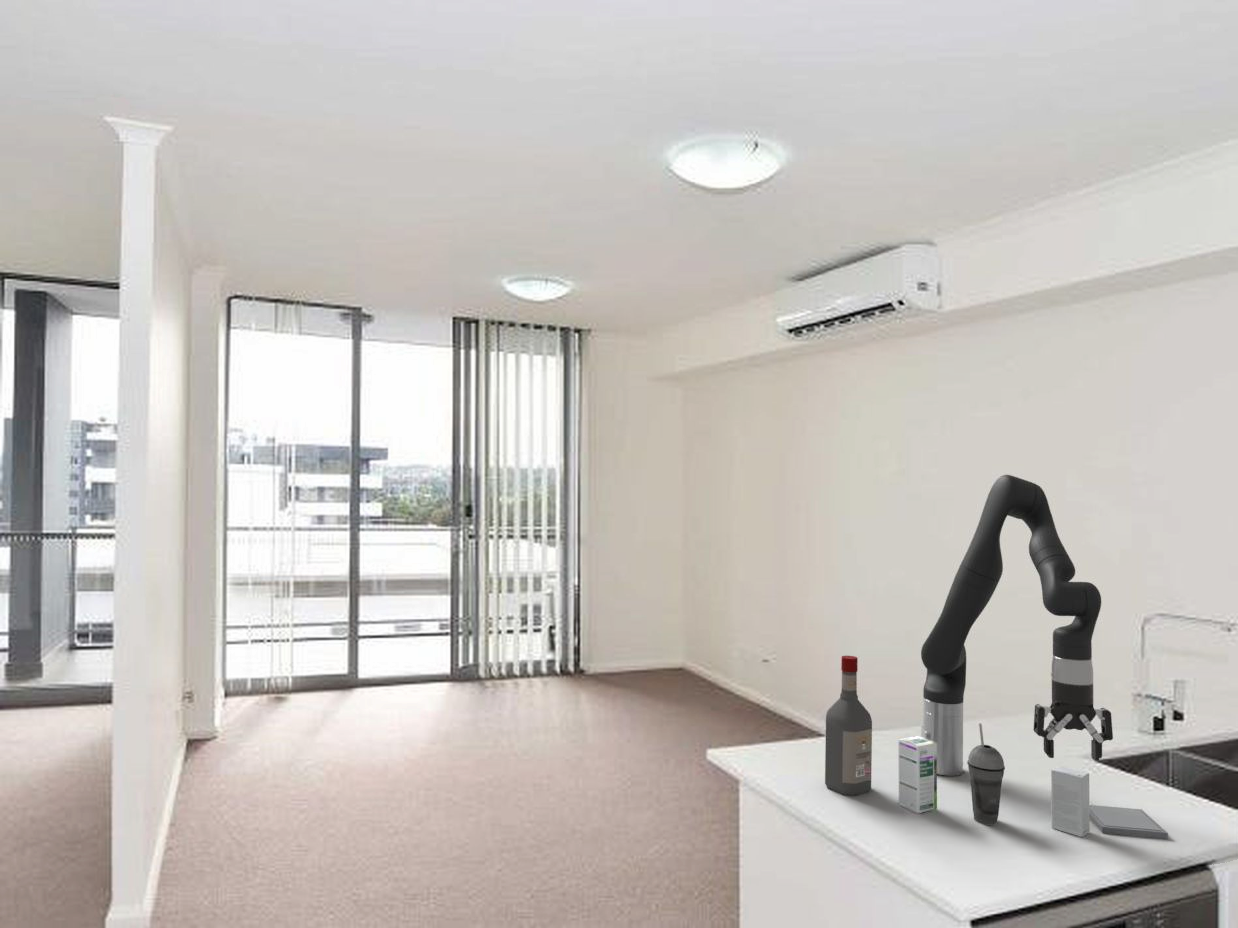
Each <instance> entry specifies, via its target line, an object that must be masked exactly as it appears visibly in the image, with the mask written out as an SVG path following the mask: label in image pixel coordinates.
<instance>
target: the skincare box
mask: <svg viewBox="0 0 1238 928" xmlns="http://www.w3.org/2000/svg"><path fill="white" fill-rule="evenodd" d="M1050 777H1051V796H1050V797H1051V803H1050V804H1051V805H1050V806H1051V809H1050V810H1051V812H1050V813H1051V816H1050V817H1051V824H1050V825H1051V828H1052V829H1054V830H1058V831H1060V832H1064V833H1067V834H1070V835H1074V836H1078V837H1080V838H1083V837H1084V836H1086V835H1087V834H1088V833H1090V828H1091V827H1090V821H1091V820H1090V816H1089V805H1090V773H1089V772H1085V771H1082V770H1081V771H1080V770H1077V769H1074V768H1069V767H1065V766H1061V765H1058V766H1056V767H1054V768H1053V769H1051V772H1050Z"/></svg>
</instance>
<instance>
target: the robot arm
mask: <svg viewBox="0 0 1238 928" xmlns="http://www.w3.org/2000/svg"><path fill="white" fill-rule="evenodd" d="M989 490H990V491H989V492H988V495H987V496H986V497H987V498H986V501H985V503H984V506H983V509H982V513H981V515H980V518H979V521H978V525H977V526H976V530H975V532H974V534H973V537H972V539H971V542H970V544H969V546H968V548H967V550H966V552H965V554H964V556H963V559H962V561H961V562H960V565H959V566H958V567H959V568H958V569H957V571H956V573H955V576H954V577H953V582H952V584H951V586H950V589H949V591H948V595H947V596H946V599H945V601H944V602H945V603H944V605H943V608H942V610H941V612H940V613H941V614H940V616H939V617H938V619H937V621H936V623H935V624H934V627H933V628H932V630H931V631H930V633H929V635H928V636H927V638H926V639H925V641H924V642H923V644H922V647H921V652H920V656H921V661H922V664H923V666H924V667H925V668H926V677H925V683H924V684H923V685H924V686H923V690H922V691H923V693H922V694H923V707H922V710H923V712H922V713H923V715H922V718H923V719H922V725H921V729H920V732H921V736H920V737H923V738H926V739H929V740H931V741H934V742H936V743H937V775H941V776H948V777H949V776H951V777H952V776H953V777H954V776H959V775H962V774H963V771H964V697H965V696H964V694H965V690H966V681H967V679H966V678H967V650H966V646H965V643H966V640H967V638H968V635H969V633H970V631H971V629H972V627H973V625H974V623H975V622H976V621H977V619H978V618H980V617H979V616H980V615H981V614H982V613H983V611H984V610H985V608H986V606H987V605H988V603H989V602H990V600H991V599H992V597H993V595H994V593H995V591H996V589H997V586H998V585H999V582H1000V580H1001V577H1002V575H1003V570H1004V566H1003V555H1002V549H1001V541H1000V540H1001V534H1002V530H1003V526H1004V524H1005V521H1006V519H1007V517H1008V516H1009V517H1011V518H1015V519H1018V520H1022V521H1023V522H1024V524H1025V525H1026V526H1027V527H1028V528H1029V530H1030V532H1031V537H1030V540H1029V544H1028V554H1029V556H1030V559H1031V562H1032V564H1033V566H1034V568H1035V569H1036V572H1037V574H1038V575H1039V580H1040V584H1041V585H1040V586H1041V593H1042V596H1041V597H1042V603H1043V606H1044V608H1045V609H1046V610H1047V611H1048V612H1049V613H1050V614H1051V615H1054V616H1058V617H1074V619H1073V621H1072V622H1071V623H1069V624H1068V625H1063V626H1059V627H1057V628H1055V629H1054V630H1053V632H1052V659H1051V660H1052V661H1051V671H1050V676H1051V704H1050V706H1045V705H1041V704H1040V703H1037V704H1035V705H1034V715H1033V716H1034V718H1033V733H1035V734H1036V735H1037V736H1039V737H1042V738H1043V752H1044V753H1045V755H1047V757H1048V758H1050V759H1054V758H1055V748H1054V747H1055V744H1054V743H1055V740H1054V738H1055V737H1056V735H1057V734H1058V733H1060V732H1061V731H1062V730H1064V729H1065V730H1077V731H1083V730H1086V731H1087V733H1089V735H1090V737H1091V738H1092V739H1091V740H1090V741H1091V742H1090V747H1091V748H1090V749H1091V751H1090V752H1091V753H1090V755H1091V759H1092V760H1093V761H1094V762H1099V761H1100V759H1102V757H1103V743H1104V742H1105V741H1112V740H1113V739H1114V734H1113V733H1114V732H1113V722H1112V721H1113V720H1112V712H1111V711H1110V710H1108V709H1107V708H1105V707H1101V708H1100V709H1099V708H1097V709H1095V708H1094V667H1093V666H1094V665H1093V659H1092V658H1093V657H1092V656H1093V655H1092V651H1093V649H1092V648H1093V647H1092V645H1093V644H1092V639H1093V635H1094V631H1095V627H1096V624H1097V620H1098V617H1099V615H1100V612H1101V609H1102V595H1101V593H1100V590H1099V589H1098V587H1097V586H1096V585H1095V584H1094V583H1091V582H1089V581H1072V579H1073V578H1074V577H1075V575H1076V567H1075V565H1074V563H1073V561H1072V559H1071V558H1070V555H1069V554H1068V551H1067V550H1066V549H1065V547H1064V544H1063V543H1062V541H1061V539H1060V537H1059V534H1058V531H1057V528H1056V525H1055V521H1054V517H1053V515H1052V511H1051V509H1050V505H1049V501H1048V498H1047V495H1046V493H1045V491H1044V490H1043V488H1042V487H1041V486H1040V485H1038V484H1037V483H1035V482H1032V481H1028V480H1026V479H1023V478H1020V477H1017V476H1014V475H1012V474H1003V475H1000V477H998V478H997V479H996V481H995V482H994V483H993V484H992V486H991V487H990V489H989ZM1048 714H1050V715H1051V716H1052V717H1053V718H1052V719H1051V720H1050V722H1049V723H1048V725H1047V726H1046V728H1045V718H1047V717H1048ZM1096 716H1097V719H1098V720H1099V721H1100V727H1101V728H1100V729H1101V732H1098V730H1097V729H1096V728H1095V726H1094V725H1093V724H1092V723H1091V722H1092V721H1093V720H1094V718H1096Z"/></svg>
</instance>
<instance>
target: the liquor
mask: <svg viewBox="0 0 1238 928" xmlns="http://www.w3.org/2000/svg"><path fill="white" fill-rule="evenodd" d="M858 660H859V659H858V657H857V656H854V655H841V662H840V663H841V664H840V665H841V666H840V668H841V669H840V670H841V690H840V691H841V692H840V695H839V696H840V697H839V698H838V699H837V700H836V701H835V702H834V703H833V704H832V705H831V706H830V707H829V708H828V709H827V711H826V714H825V751H824V752H825V754H824V755H825V760H824V761H825V762H824V763H825V765H824V766H825V767H824V768H825V770H824V772H825V773H824V784H825V786H826V788H827V789H830V790H832V791H833V792H836V793H839V794H840V795H843V796H853V797H854V796H859V795H863V794H866V793H870V791H871V790H872V763H873V762H872V757H873V756H872V755H873V754H872V752H873V748H872V747H873V719H872V716H871V714H870V712H869V711H868V709H867V708H866V707H865V706H864V705H863V703H862V702H861V701H860V700H859V695H858V691H857V688H858V687H857V686H858V683H857V679H858V678H857V677H858V675H857V674H858V663H859V662H858Z"/></svg>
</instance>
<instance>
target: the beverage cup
mask: <svg viewBox="0 0 1238 928" xmlns="http://www.w3.org/2000/svg"><path fill="white" fill-rule="evenodd" d="M978 727H979V735H980V736H979V737H980V738H979V739H980V744H979V745H977V746H975V747H974V748H972V749H971V751H970V752H969V754H968V760H967V763H966V764H967V765H968V767H967V768H968V773H969V777H970V779H969V780H970V787H971V788H970V789H971V790H970V791H971V801H972V813H973V820H974V821H975V822H977V823H980V824H982V825H987V826H991V825H992V826H994V825H997V824H998V818H999V814H1000V813H999V812H1000V802H1001V793H1002V792H1001V791H1002V783H1003V778H1004V774H1005V770H1006V767H1005V762H1004V758H1003V756H1002V754H1001V753H1000V751H998V750H997V748H995V747H993V746H992V745H989V744H985V743H984V733H983V725H982V723H978Z"/></svg>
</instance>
